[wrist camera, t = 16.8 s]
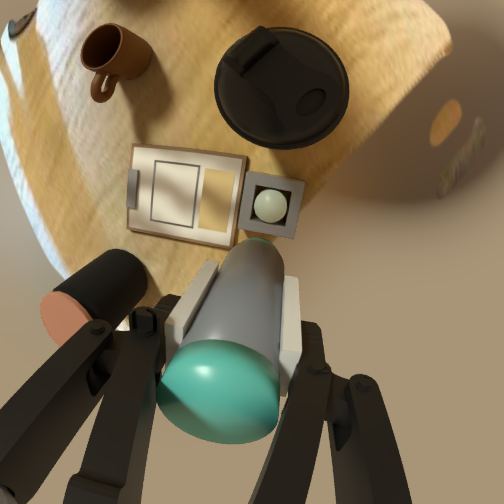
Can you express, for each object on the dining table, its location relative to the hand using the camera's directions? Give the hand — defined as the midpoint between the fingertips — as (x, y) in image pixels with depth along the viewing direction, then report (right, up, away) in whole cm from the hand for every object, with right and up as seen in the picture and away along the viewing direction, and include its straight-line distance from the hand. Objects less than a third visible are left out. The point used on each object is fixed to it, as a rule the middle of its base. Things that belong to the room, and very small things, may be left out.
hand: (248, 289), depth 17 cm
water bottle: (+5, +21, +20) cm, 30 cm away
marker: (+1, +2, +5) cm, 5 cm away
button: (+3, +9, +25) cm, 27 cm away
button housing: (+3, +9, +25) cm, 27 cm away
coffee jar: (-23, -2, +32) cm, 40 cm away
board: (-10, +11, +26) cm, 30 cm away
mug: (-19, +31, +20) cm, 41 cm away
